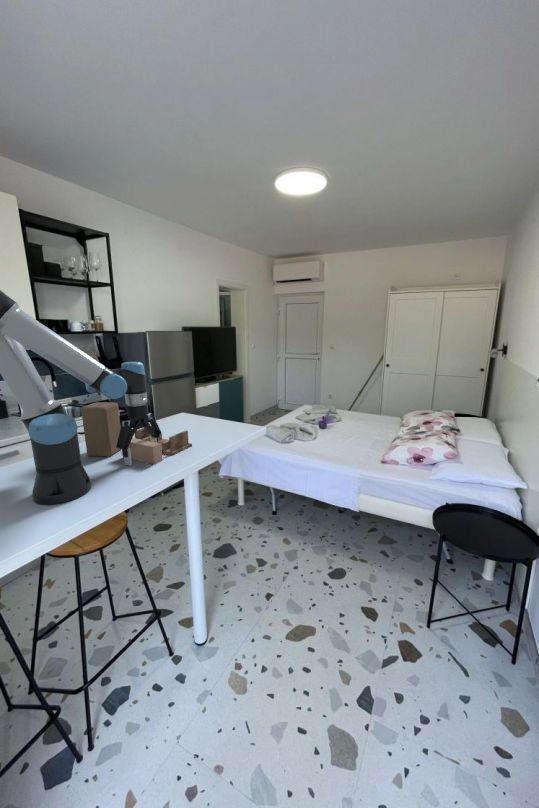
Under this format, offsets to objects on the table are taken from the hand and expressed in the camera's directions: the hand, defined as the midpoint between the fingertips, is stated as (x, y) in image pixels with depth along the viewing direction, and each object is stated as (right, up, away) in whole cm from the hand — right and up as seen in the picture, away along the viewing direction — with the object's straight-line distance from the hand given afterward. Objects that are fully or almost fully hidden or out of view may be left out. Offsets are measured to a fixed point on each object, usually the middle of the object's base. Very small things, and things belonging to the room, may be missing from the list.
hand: (142, 458), depth 127 cm
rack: (+3, +3, +14) cm, 14 cm away
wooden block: (-18, +1, +7) cm, 19 cm away
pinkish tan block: (0, 0, 0) cm, 1 cm away
